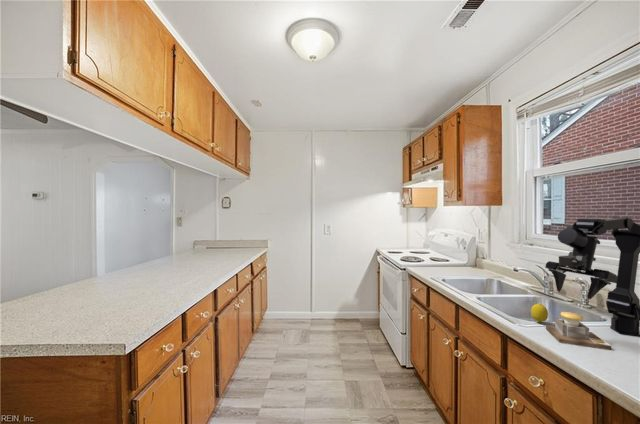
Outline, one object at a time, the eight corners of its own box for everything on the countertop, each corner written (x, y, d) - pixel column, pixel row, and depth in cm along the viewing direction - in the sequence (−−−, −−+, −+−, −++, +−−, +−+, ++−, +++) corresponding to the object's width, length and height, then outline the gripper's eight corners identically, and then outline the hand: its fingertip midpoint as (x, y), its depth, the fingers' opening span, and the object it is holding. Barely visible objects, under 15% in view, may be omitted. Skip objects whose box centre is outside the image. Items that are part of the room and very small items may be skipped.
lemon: (548, 322, 117) (548, 303, 117) (547, 326, 112) (547, 306, 112) (531, 319, 120) (531, 300, 120) (530, 322, 116) (530, 303, 116)
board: (591, 335, 105) (591, 321, 105) (611, 350, 94) (611, 335, 94) (545, 329, 110) (546, 316, 110) (559, 342, 99) (559, 328, 99)
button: (577, 326, 105) (577, 313, 105) (586, 332, 99) (586, 318, 99) (557, 323, 107) (558, 310, 107) (564, 329, 101) (565, 316, 101)
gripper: (540, 242, 107) (530, 282, 105) (602, 249, 89) (591, 297, 88) (559, 251, 110) (550, 289, 109) (623, 259, 92) (612, 305, 91)
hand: (573, 294), depth 99 cm, fingers open, 9 cm apart
